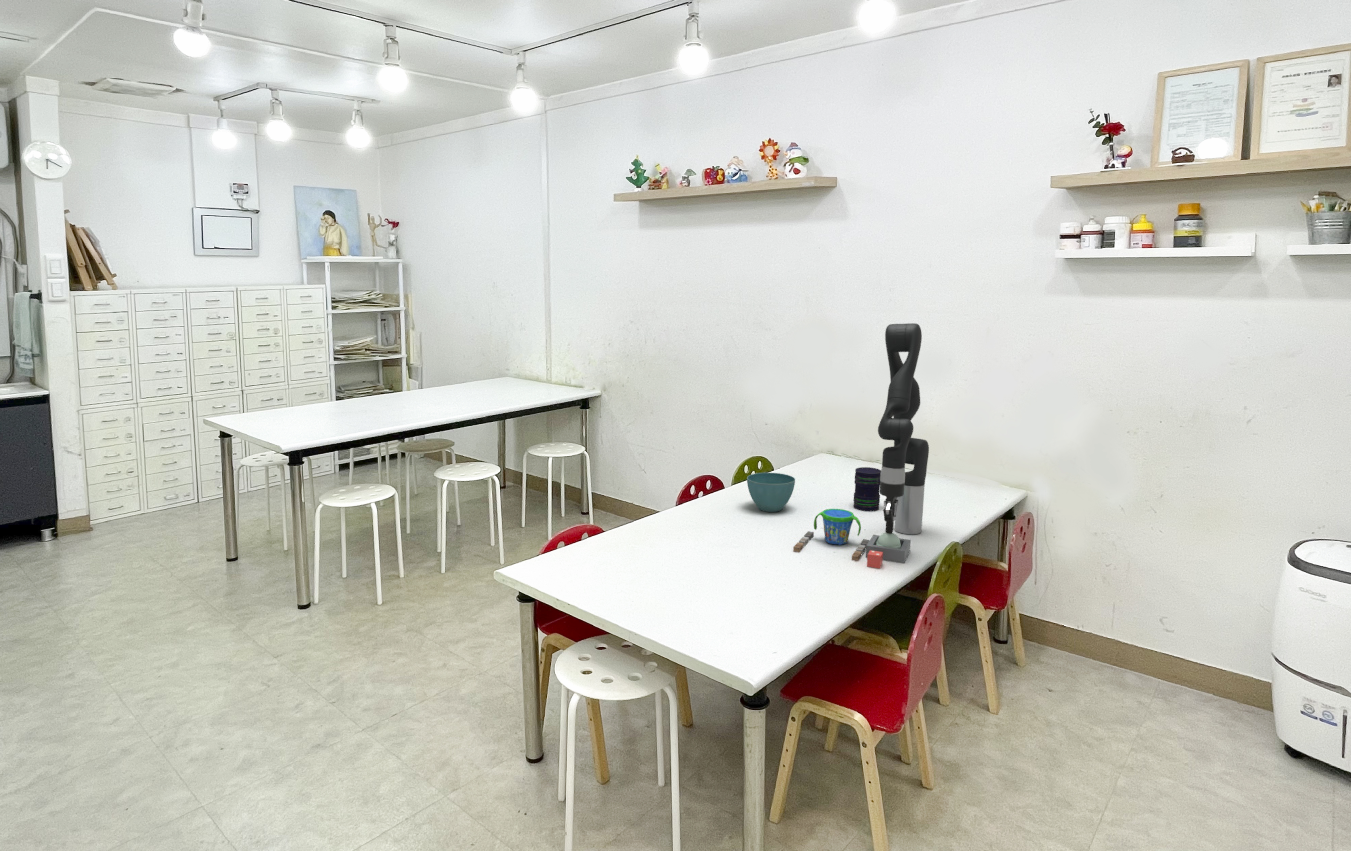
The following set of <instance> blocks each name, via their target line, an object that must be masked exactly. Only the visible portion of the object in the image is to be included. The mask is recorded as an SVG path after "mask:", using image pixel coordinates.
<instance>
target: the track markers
mask: <svg viewBox="0 0 1351 851" xmlns="http://www.w3.org/2000/svg"><path fill="white" fill-rule="evenodd" d="M814 534H815V533H814V531H811V530H809V531H807V532H806V533H805V534H804V535H803V536H802V537H801V538H800V539H799V540H798V542H796V543H795V544H794V546H793V549H792V550H793V553H801V551H802V550H803V549H804V547H806V545H808V543H809V541H811V540H812V539H811V538H814V536H815V535H814ZM869 541H870V539H865V538H863V539H862V541H861V542H860V544H858V546H857V547H856V550H855V551H854V552H853V553H852V554H851V561H853V560H855V562H859V560H860V559H861V557H862V555H863V554H864V553H865V552H866V549H865V548H866V545H867V544H868V542H869ZM863 552H864V553H863ZM861 554H862V555H861Z"/></svg>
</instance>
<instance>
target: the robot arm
mask: <svg viewBox="0 0 1351 851" xmlns="http://www.w3.org/2000/svg"><path fill="white" fill-rule="evenodd" d="M922 335H923V334H922V329H921V326H920V325H919V324H918V323H909V322H908V323H890V324H888V325H887V326H886V328H885V333H884V337H885V338H884V340H885V348H886V354H887V359H888V366H889V377H890V383H889V385H888V390H887V399H886V405H885V410H884V413H883V414H882V417H881V418H880V421H879V424H878V426H877V433H878V435H879V437H880V438H881V439H882V440H885V441H893V446H888V447H885V448H884V449H883V450H882V458H881V469H880V470H881V477H880V489H879V495H880V496H883V497H885V500H884V501H883V507H884V508H883V510H882V511H883V520H884V522H885V530H884V531H885V532H886V533H894V531H896V532H897V533H900V534H905V535H918V534H921V533H922V530H923V528H922V526H923V515H924V499H925V485H926V477H927V472H928V471H927V469H928V463H929V462H928V461H929V453H930V452H929V451H930V447H929V442H928V440H926V439H923V438H915V437H912V436H913V433H914V424H913V422H912V419H913V418H914V417H915V415H916V414H917V413H918V411H919V409H920V406H921V392H920V385H919V383H918V381H917V380H916V378H915V377H914V376H915V372H916V368H917V365H918V360H919V356H920V351H921V346H922V339H923V338H922ZM900 353H907V356H906V359H905V361H902V358H901V355H900ZM906 465H912V466H913V469H912V470H909V471H906V470H905V469H906ZM885 532H884V533H885Z"/></svg>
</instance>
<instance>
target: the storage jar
mask: <svg viewBox="0 0 1351 851" xmlns="http://www.w3.org/2000/svg"><path fill="white" fill-rule="evenodd" d="M880 477H881V469H879V468H876V467H868V466H865V467H863V466H862V467H856V468H855V473H854V492H853V508H854V509H855V510H856V511H857V510H858V511H861V512H876V511H879V510H880V507H879V506H880V502H881V501H880V500H881V494H880Z"/></svg>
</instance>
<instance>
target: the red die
mask: <svg viewBox="0 0 1351 851" xmlns="http://www.w3.org/2000/svg"><path fill="white" fill-rule="evenodd" d="M866 560H867V562H866V567H868V568H875V569H881V567H882V565H883V561H884V560H883V552H879V551H872V550H870V551H869V553H868V556H867V558H866Z"/></svg>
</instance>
